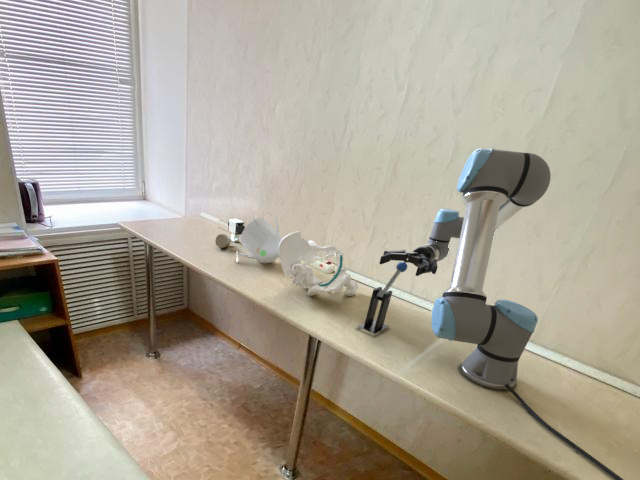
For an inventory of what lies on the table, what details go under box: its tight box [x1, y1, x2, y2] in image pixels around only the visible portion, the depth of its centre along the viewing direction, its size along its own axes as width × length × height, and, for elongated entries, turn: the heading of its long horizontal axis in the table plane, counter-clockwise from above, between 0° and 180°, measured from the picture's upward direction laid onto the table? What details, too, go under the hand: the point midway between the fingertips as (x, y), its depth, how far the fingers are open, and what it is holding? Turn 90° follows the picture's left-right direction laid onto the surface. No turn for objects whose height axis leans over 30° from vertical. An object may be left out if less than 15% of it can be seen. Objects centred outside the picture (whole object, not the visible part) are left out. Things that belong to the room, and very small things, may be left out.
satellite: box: [235, 212, 286, 264], centre depth 198 cm, size 23×20×25 cm
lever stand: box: [357, 286, 393, 335], centre depth 145 cm, size 10×7×15 cm
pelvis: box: [278, 230, 359, 297], centre depth 170 cm, size 35×23×30 cm
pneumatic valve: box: [227, 218, 246, 243], centre depth 225 cm, size 6×12×12 cm, turn 30°
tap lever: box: [376, 261, 408, 302], centre depth 143 cm, size 16×4×4 cm
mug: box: [214, 233, 232, 249], centre depth 216 cm, size 8×10×10 cm
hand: (398, 265), depth 142 cm, fingers open, 13 cm apart
